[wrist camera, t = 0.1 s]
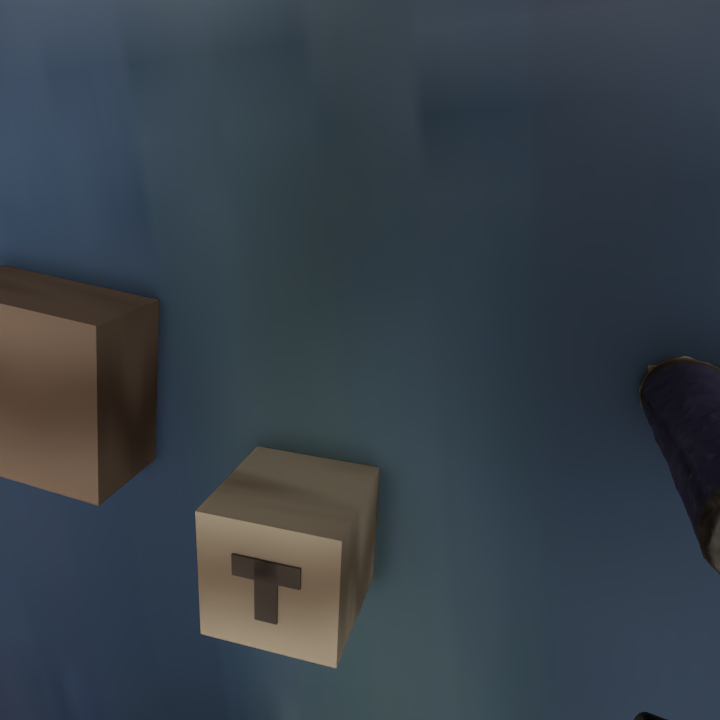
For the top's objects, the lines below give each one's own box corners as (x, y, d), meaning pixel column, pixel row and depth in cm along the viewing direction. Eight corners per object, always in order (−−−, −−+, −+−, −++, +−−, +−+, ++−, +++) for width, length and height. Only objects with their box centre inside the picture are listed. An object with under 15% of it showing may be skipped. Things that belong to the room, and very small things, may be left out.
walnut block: (158, 456, 27) (98, 505, 24) (18, 417, 29) (-59, 458, 25) (162, 298, 25) (96, 325, 21) (8, 264, 26) (-78, 285, 22)
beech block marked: (373, 576, 26) (335, 670, 21) (258, 551, 27) (199, 635, 22) (380, 466, 24) (341, 543, 20) (258, 445, 25) (193, 512, 21)
